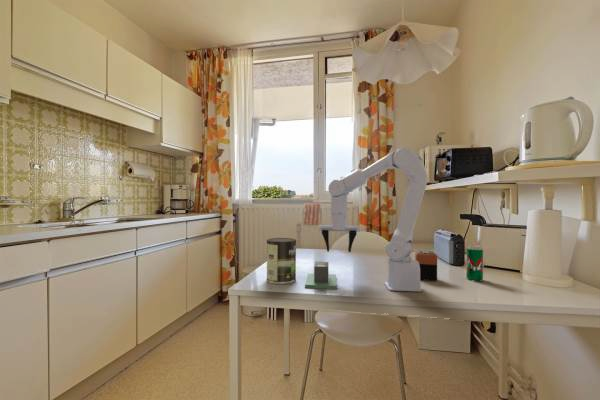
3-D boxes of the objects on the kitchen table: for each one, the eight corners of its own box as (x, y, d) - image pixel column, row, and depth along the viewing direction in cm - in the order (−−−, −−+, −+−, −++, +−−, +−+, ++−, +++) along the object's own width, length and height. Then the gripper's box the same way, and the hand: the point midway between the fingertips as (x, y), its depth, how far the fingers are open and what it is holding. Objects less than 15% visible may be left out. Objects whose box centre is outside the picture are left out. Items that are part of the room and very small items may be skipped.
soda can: (482, 279, 103) (482, 245, 103) (484, 282, 98) (484, 247, 98) (465, 277, 105) (466, 244, 105) (467, 280, 100) (467, 246, 101)
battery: (437, 281, 99) (437, 252, 99) (416, 279, 101) (416, 251, 101) (435, 278, 104) (435, 250, 104) (414, 276, 105) (415, 249, 105)
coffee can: (299, 277, 103) (299, 238, 103) (291, 285, 93) (291, 242, 93) (272, 275, 106) (272, 237, 106) (261, 282, 96) (261, 240, 96)
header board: (335, 277, 104) (335, 267, 104) (336, 289, 90) (336, 277, 90) (308, 276, 105) (308, 266, 105) (305, 287, 91) (305, 276, 91)
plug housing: (328, 276, 101) (328, 261, 101) (328, 282, 93) (328, 266, 93) (315, 275, 101) (315, 261, 101) (314, 282, 93) (314, 266, 93)
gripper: (358, 213, 107) (358, 249, 107) (319, 213, 108) (319, 249, 108) (360, 214, 100) (360, 253, 100) (318, 213, 101) (318, 252, 101)
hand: (338, 251), depth 104 cm, fingers open, 7 cm apart
